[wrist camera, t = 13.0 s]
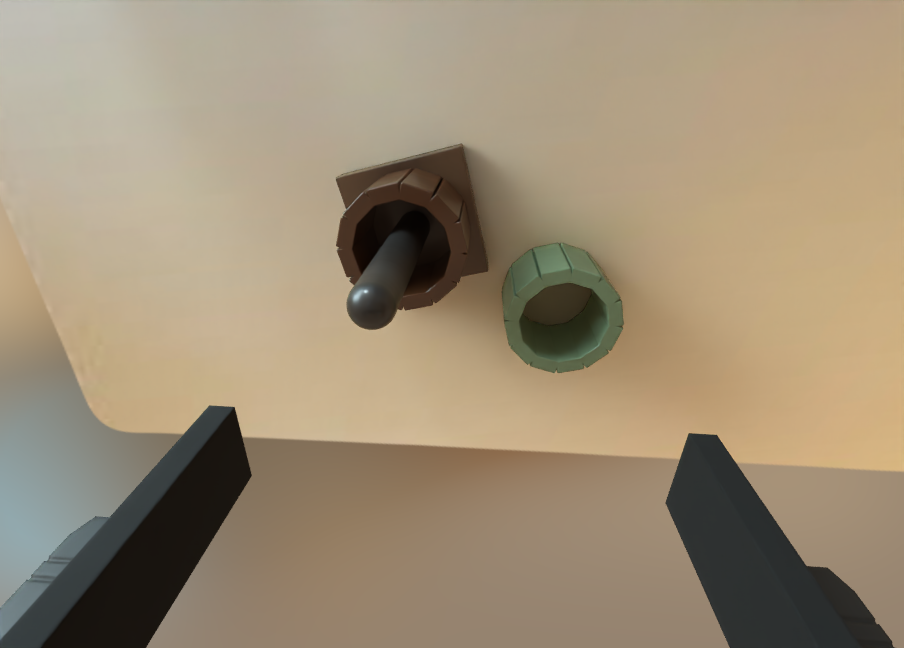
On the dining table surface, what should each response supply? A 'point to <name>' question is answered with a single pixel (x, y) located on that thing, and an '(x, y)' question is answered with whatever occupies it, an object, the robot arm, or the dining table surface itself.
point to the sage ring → (566, 341)
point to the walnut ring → (422, 191)
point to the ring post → (407, 235)
